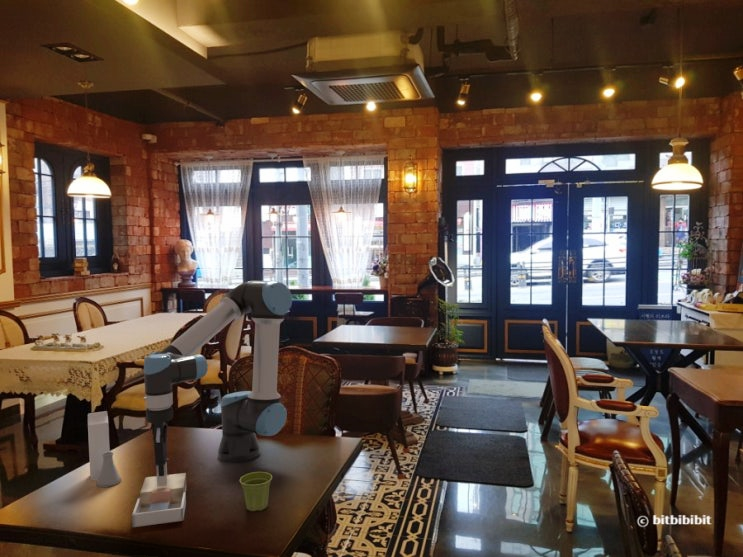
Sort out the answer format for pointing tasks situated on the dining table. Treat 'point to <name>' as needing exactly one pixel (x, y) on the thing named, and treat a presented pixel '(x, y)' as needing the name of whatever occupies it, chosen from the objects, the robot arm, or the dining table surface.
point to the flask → (108, 472)
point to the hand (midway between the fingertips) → (162, 484)
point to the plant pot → (256, 490)
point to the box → (158, 514)
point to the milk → (97, 441)
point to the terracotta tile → (161, 496)
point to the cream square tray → (173, 481)
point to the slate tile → (159, 506)
